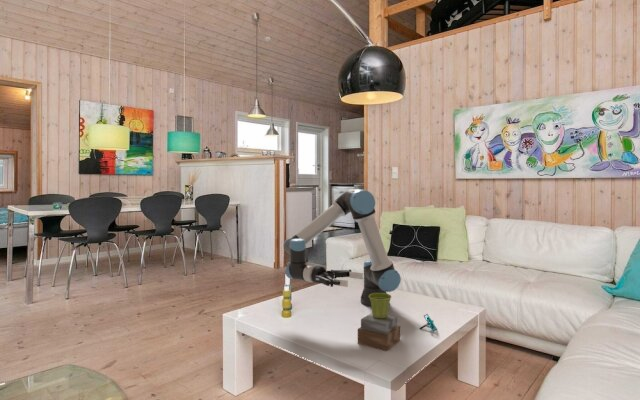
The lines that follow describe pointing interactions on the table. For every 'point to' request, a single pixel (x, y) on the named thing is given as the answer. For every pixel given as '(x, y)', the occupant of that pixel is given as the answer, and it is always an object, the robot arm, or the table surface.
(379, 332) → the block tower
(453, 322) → the table surface
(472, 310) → the table surface
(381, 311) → the plant pot
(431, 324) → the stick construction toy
